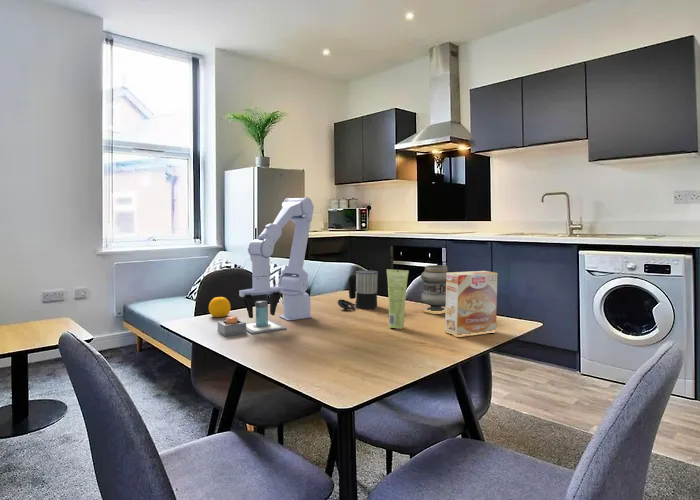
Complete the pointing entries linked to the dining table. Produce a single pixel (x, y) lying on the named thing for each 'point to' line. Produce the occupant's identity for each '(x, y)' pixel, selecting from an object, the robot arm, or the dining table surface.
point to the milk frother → (362, 290)
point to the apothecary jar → (434, 286)
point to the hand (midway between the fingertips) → (261, 316)
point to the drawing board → (271, 327)
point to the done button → (231, 320)
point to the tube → (397, 296)
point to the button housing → (232, 328)
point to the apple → (219, 307)
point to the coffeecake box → (471, 302)
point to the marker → (261, 313)
